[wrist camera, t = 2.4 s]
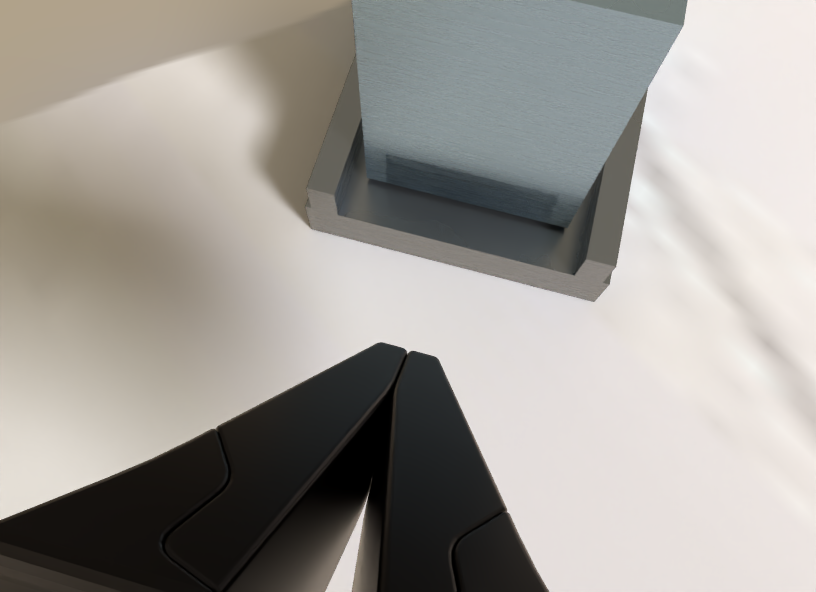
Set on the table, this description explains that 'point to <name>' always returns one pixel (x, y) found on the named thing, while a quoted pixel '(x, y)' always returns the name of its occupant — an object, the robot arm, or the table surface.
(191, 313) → the table surface
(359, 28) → the grey-blue brushed block
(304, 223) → the table surface
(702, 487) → the table surface
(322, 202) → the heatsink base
